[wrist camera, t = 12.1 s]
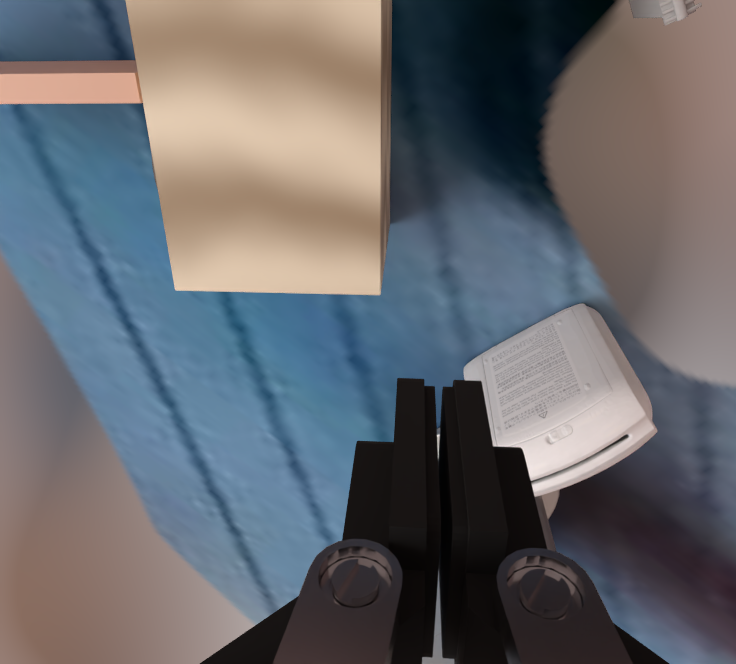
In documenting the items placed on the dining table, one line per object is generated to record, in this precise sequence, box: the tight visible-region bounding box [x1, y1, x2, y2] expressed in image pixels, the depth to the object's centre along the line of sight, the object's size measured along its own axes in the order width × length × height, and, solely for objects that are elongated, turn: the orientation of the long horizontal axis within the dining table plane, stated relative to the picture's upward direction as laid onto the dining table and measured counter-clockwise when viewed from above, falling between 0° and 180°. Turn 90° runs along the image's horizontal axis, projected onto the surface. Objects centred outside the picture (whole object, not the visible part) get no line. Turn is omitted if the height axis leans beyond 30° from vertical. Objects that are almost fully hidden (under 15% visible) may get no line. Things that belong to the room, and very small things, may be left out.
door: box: [0, 60, 143, 104], centre depth 30 cm, size 15×2×10 cm, turn 91°
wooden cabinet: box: [126, 0, 392, 295], centre depth 29 cm, size 20×11×11 cm, turn 0°
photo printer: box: [464, 303, 657, 497], centre depth 36 cm, size 10×4×12 cm, turn 126°
